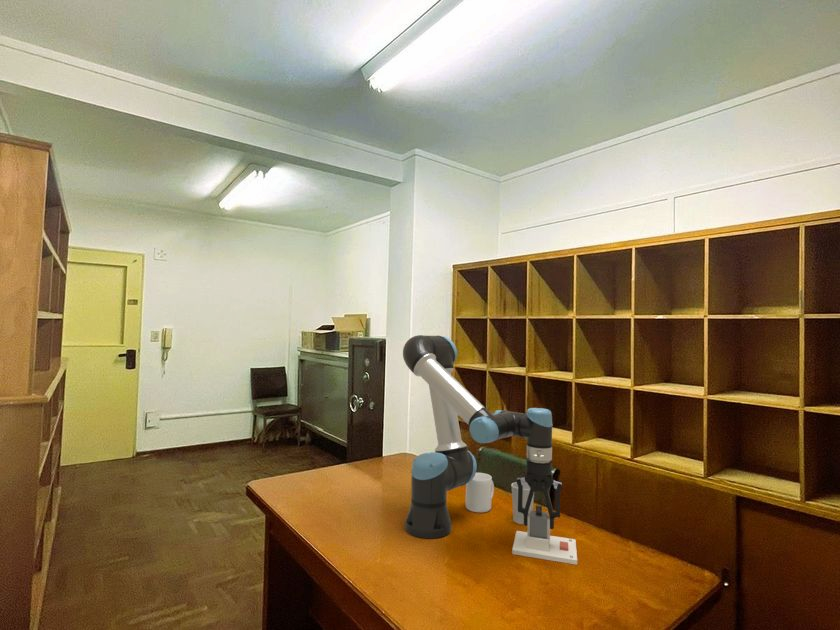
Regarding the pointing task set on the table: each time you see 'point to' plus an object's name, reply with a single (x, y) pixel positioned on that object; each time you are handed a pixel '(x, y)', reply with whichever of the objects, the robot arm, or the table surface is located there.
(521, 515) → the cup
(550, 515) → the robot arm
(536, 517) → the plug
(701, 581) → the table surface
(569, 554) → the socket
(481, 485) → the mug
